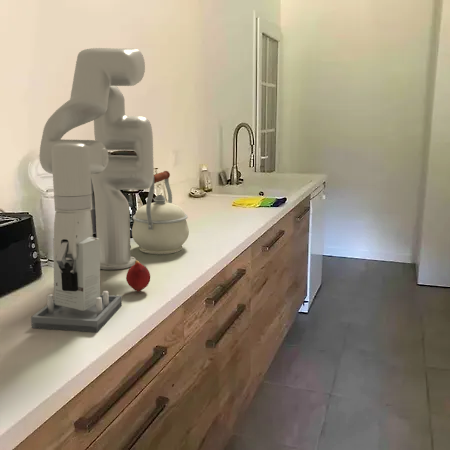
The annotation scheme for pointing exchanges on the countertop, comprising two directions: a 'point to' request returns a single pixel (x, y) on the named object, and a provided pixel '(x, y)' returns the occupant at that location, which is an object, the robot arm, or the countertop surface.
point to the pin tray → (77, 315)
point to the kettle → (160, 222)
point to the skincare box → (81, 277)
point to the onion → (138, 276)
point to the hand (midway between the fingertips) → (77, 284)
